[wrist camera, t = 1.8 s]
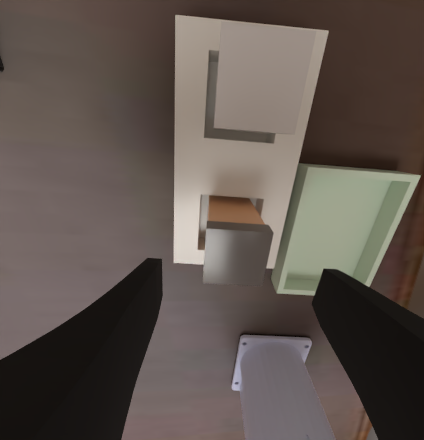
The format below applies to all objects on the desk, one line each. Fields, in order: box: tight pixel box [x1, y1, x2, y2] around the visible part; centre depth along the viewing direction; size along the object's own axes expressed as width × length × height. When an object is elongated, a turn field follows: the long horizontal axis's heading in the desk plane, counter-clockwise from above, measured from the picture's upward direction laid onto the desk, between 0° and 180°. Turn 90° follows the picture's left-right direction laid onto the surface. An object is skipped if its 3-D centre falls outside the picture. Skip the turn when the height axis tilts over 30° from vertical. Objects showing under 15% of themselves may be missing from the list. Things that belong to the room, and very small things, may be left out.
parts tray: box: [271, 163, 420, 295], centre depth 17 cm, size 11×8×2 cm
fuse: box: [213, 21, 317, 134], centre depth 11 cm, size 3×3×6 cm
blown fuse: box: [202, 195, 274, 287], centre depth 14 cm, size 3×3×6 cm
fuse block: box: [174, 15, 329, 269], centre depth 15 cm, size 15×8×3 cm, turn 176°
